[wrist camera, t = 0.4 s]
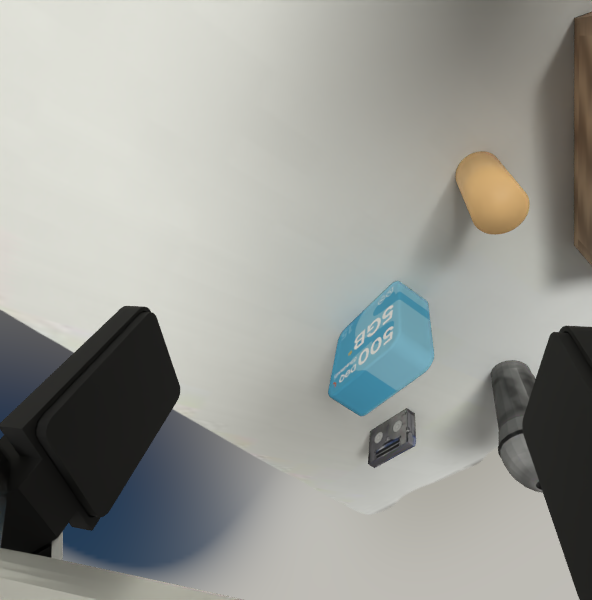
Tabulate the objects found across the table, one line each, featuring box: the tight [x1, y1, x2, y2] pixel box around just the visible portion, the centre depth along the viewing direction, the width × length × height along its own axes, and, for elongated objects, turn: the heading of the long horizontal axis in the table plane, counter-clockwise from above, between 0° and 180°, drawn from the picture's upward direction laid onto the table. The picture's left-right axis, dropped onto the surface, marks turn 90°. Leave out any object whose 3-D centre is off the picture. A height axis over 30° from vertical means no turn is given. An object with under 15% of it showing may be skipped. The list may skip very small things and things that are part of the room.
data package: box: [328, 281, 434, 416], centre depth 44 cm, size 12×4×12 cm, turn 147°
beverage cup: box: [491, 360, 543, 492], centre depth 42 cm, size 7×7×20 cm
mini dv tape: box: [368, 408, 416, 468], centre depth 57 cm, size 8×2×6 cm, turn 145°
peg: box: [455, 152, 529, 234], centre depth 33 cm, size 4×4×10 cm
